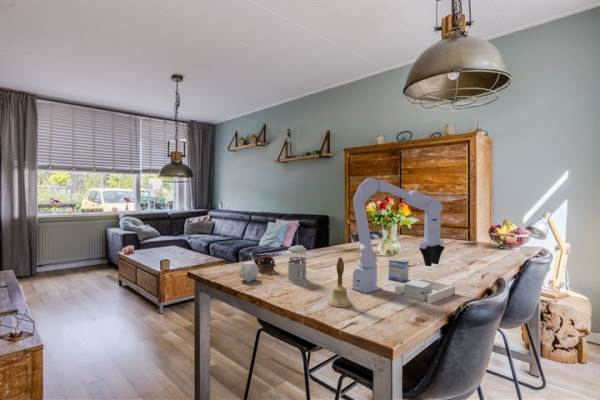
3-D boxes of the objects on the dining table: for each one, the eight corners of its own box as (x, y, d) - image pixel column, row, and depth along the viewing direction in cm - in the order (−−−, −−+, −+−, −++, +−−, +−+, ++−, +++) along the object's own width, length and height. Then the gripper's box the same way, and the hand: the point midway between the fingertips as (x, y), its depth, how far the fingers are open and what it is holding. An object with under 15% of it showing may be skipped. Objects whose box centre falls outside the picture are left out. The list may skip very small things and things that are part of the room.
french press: (281, 282, 140) (281, 223, 139) (294, 275, 151) (294, 221, 150) (302, 284, 136) (302, 224, 135) (313, 278, 146) (313, 222, 146)
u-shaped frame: (429, 303, 113) (430, 295, 113) (395, 293, 124) (395, 286, 124) (454, 293, 125) (455, 285, 125) (421, 285, 136) (421, 278, 136)
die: (261, 283, 141) (263, 262, 146) (247, 276, 135) (250, 255, 141) (247, 287, 145) (250, 266, 150) (233, 281, 139) (236, 260, 145)
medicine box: (388, 279, 144) (388, 260, 144) (390, 277, 148) (390, 258, 148) (406, 282, 140) (407, 262, 140) (408, 279, 144) (408, 260, 144)
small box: (403, 296, 122) (403, 283, 122) (412, 292, 127) (413, 279, 127) (424, 301, 116) (424, 287, 116) (433, 296, 122) (433, 282, 122)
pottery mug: (279, 270, 163) (279, 257, 158) (269, 282, 156) (268, 270, 151) (259, 261, 167) (258, 249, 163) (248, 273, 160) (247, 261, 156)
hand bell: (331, 298, 119) (332, 254, 119) (354, 301, 116) (354, 256, 116) (324, 305, 112) (324, 259, 111) (348, 309, 109) (348, 261, 108)
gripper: (432, 232, 119) (431, 269, 119) (451, 229, 128) (451, 264, 129) (414, 230, 124) (414, 266, 125) (434, 228, 134) (434, 261, 134)
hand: (431, 264), depth 127 cm, fingers open, 5 cm apart
